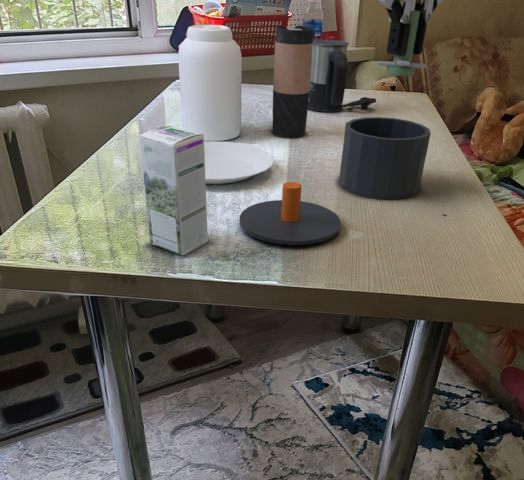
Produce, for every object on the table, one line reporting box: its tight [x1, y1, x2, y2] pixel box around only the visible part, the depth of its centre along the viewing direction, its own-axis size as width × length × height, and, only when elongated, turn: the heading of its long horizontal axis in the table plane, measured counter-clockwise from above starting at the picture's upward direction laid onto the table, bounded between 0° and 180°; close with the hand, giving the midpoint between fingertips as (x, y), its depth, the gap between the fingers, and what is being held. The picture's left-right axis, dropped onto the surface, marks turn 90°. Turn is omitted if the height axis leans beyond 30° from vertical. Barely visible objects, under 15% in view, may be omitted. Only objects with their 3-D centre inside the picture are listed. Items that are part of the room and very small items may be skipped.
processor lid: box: [239, 181, 342, 246], centre depth 78 cm, size 15×15×6 cm
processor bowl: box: [338, 116, 432, 200], centre depth 92 cm, size 14×14×10 cm
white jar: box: [177, 24, 243, 142], centre depth 111 cm, size 12×12×20 cm
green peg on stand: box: [377, 9, 428, 77], centre depth 79 cm, size 7×7×8 cm
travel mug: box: [272, 25, 315, 139], centre depth 113 cm, size 8×8×20 cm
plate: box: [204, 141, 275, 185], centre depth 97 cm, size 21×21×2 cm
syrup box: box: [139, 125, 209, 257], centre depth 69 cm, size 6×6×14 cm
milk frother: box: [308, 39, 377, 112], centre depth 134 cm, size 14×16×15 cm
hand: (404, 52), depth 79 cm, fingers closed on green peg on stand, 2 cm apart
